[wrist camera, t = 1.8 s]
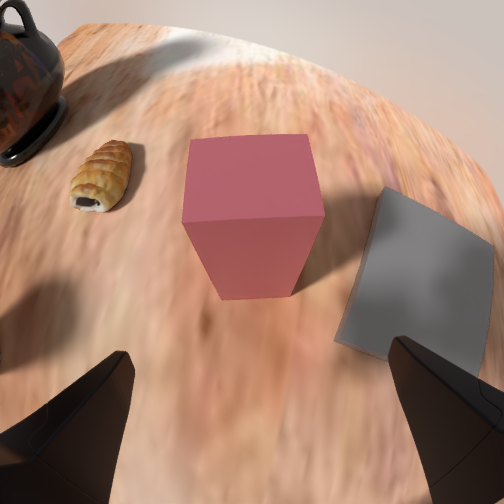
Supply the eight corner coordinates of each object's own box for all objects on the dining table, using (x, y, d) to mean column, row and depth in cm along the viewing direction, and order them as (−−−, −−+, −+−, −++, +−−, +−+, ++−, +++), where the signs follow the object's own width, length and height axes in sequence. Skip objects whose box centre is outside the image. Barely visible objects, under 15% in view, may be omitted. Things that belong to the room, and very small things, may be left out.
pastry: (101, 150, 30) (89, 130, 27) (146, 148, 30) (137, 125, 26) (72, 214, 26) (55, 196, 23) (120, 217, 26) (104, 196, 23)
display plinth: (463, 386, 18) (475, 386, 16) (333, 341, 21) (340, 338, 19) (483, 253, 23) (494, 246, 22) (378, 197, 26) (384, 186, 24)
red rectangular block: (289, 296, 22) (325, 215, 11) (221, 300, 22) (181, 222, 10) (285, 245, 24) (307, 134, 12) (221, 249, 24) (190, 139, 12)
